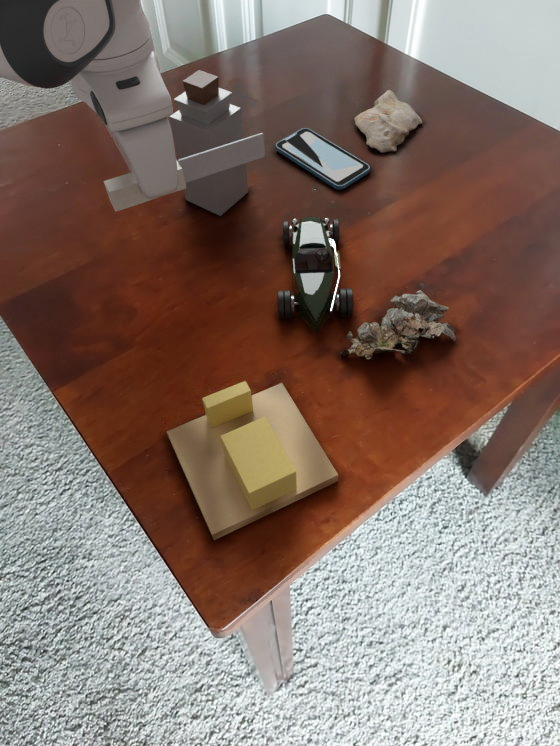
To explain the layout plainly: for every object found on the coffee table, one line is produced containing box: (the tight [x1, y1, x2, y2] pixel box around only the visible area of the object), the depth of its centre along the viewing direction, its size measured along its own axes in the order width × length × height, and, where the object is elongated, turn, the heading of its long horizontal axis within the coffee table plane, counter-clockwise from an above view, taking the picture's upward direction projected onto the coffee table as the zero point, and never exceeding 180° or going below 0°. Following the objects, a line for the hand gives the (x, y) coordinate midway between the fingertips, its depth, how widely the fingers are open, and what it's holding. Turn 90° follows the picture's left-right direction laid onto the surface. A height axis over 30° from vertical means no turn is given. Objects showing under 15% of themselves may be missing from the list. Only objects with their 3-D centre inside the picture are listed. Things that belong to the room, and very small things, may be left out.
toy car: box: [277, 216, 354, 334], centre depth 77 cm, size 9×20×5 cm, turn 1°
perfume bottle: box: [169, 69, 249, 217], centre depth 83 cm, size 7×7×18 cm
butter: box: [220, 417, 297, 510], centre depth 60 cm, size 5×7×4 cm
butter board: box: [166, 382, 339, 541], centre depth 63 cm, size 14×13×2 cm
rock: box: [339, 289, 456, 360], centre depth 72 cm, size 8×15×4 cm, turn 115°
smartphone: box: [275, 127, 371, 191], centre depth 94 cm, size 7×1×15 cm
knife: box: [103, 132, 266, 213], centre depth 72 cm, size 20×2×3 cm, turn 116°
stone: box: [353, 89, 423, 153], centre depth 98 cm, size 13×11×3 cm
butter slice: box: [201, 380, 253, 428], centre depth 64 cm, size 5×2×4 cm, turn 115°
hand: (144, 184), depth 70 cm, fingers closed on knife, 2 cm apart
